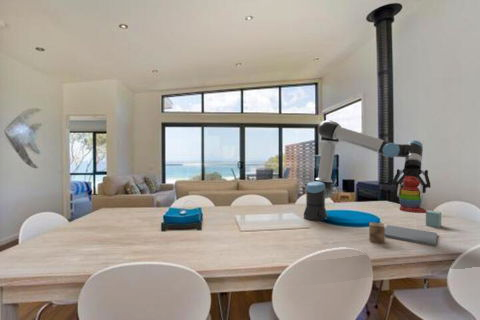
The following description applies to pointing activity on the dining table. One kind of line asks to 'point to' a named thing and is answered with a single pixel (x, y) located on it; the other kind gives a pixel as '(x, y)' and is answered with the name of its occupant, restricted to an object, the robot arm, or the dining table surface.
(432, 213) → the grey-teal block
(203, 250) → the dining table surface
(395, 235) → the slate board
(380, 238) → the walnut block
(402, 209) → the stacking bear
